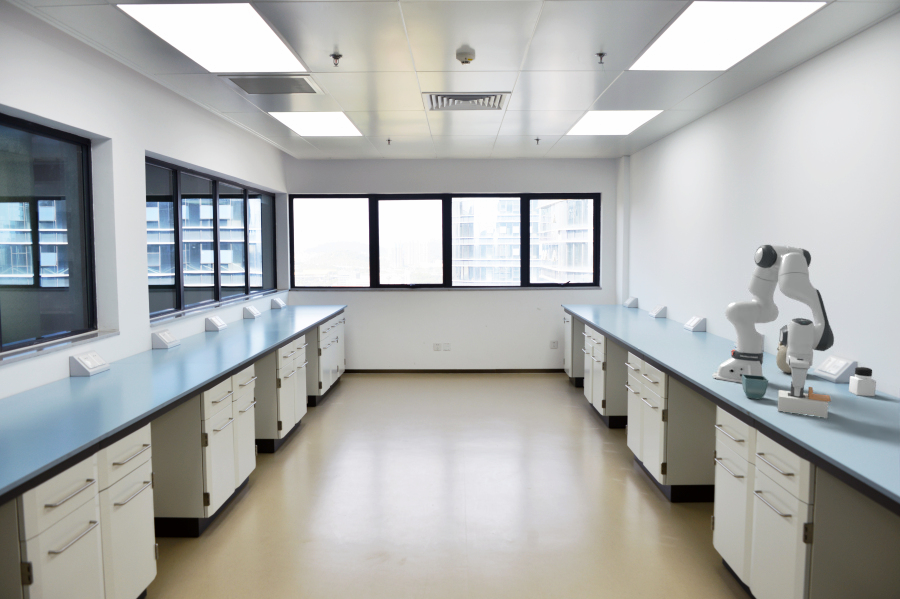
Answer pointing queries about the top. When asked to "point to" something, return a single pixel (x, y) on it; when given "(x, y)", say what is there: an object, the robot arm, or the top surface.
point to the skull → (782, 358)
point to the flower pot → (754, 386)
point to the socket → (801, 404)
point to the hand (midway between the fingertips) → (796, 394)
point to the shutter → (817, 396)
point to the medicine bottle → (862, 382)
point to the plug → (793, 392)
